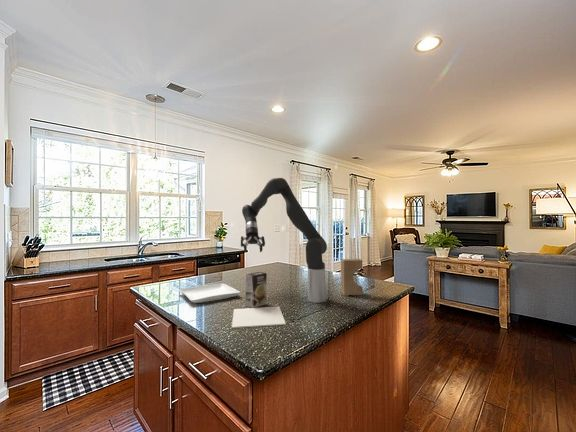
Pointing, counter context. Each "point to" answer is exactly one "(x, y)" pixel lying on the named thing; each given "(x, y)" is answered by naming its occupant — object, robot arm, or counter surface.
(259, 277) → the coffee box
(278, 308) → the mat
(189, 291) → the square plate
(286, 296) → the counter surface
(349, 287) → the decorative block
